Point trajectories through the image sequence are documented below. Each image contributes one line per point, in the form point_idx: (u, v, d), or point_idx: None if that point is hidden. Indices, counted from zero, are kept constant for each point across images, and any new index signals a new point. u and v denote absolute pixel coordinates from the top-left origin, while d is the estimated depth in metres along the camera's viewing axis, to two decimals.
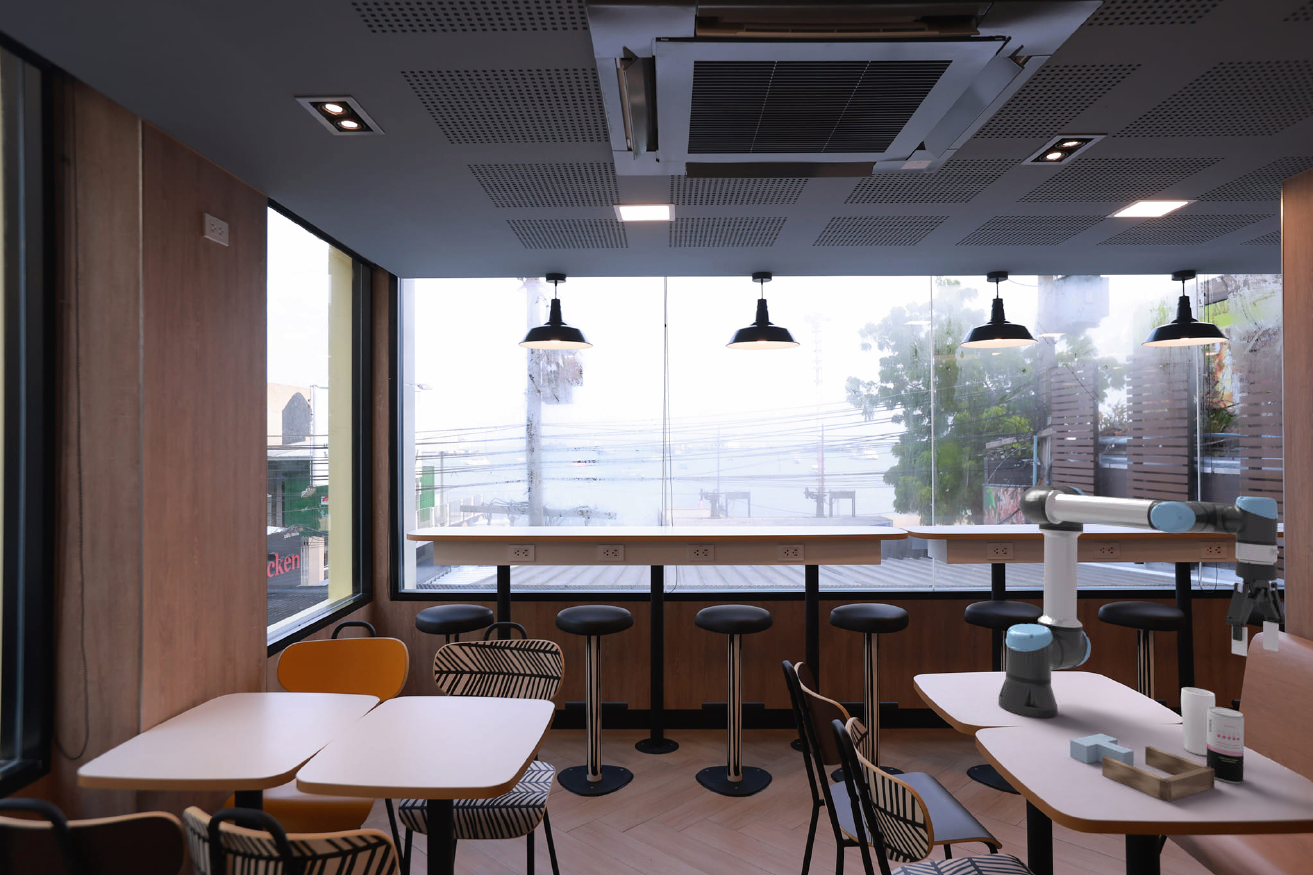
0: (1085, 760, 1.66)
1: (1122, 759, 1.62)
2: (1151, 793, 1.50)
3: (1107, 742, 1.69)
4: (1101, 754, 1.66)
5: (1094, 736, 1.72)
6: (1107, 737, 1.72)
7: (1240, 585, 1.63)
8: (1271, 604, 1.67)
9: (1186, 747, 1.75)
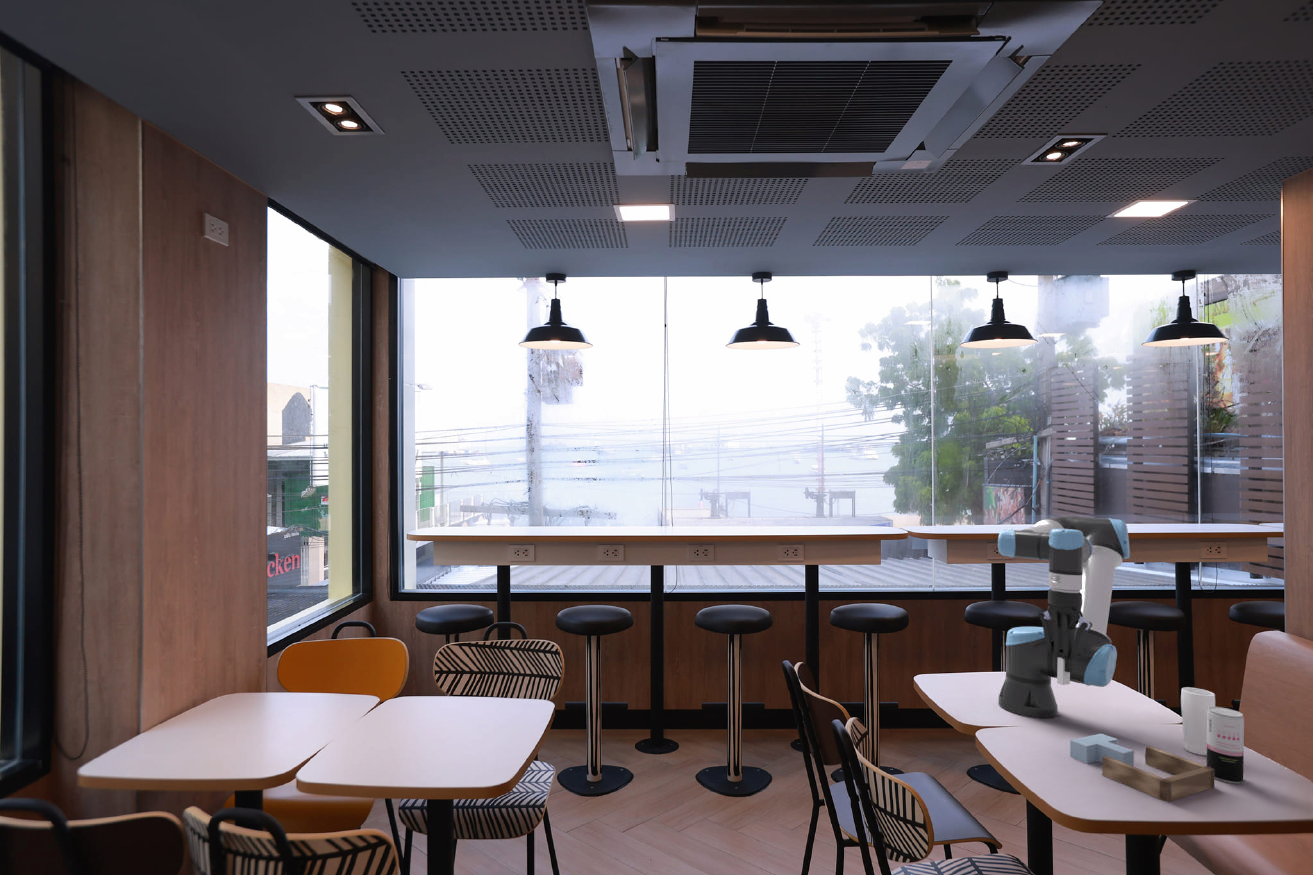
0: (1085, 760, 1.66)
1: (1122, 759, 1.62)
2: (1151, 793, 1.50)
3: (1107, 742, 1.69)
4: (1101, 754, 1.66)
5: (1094, 736, 1.72)
6: (1107, 737, 1.72)
7: None
8: (1066, 635, 1.76)
9: (1186, 747, 1.75)
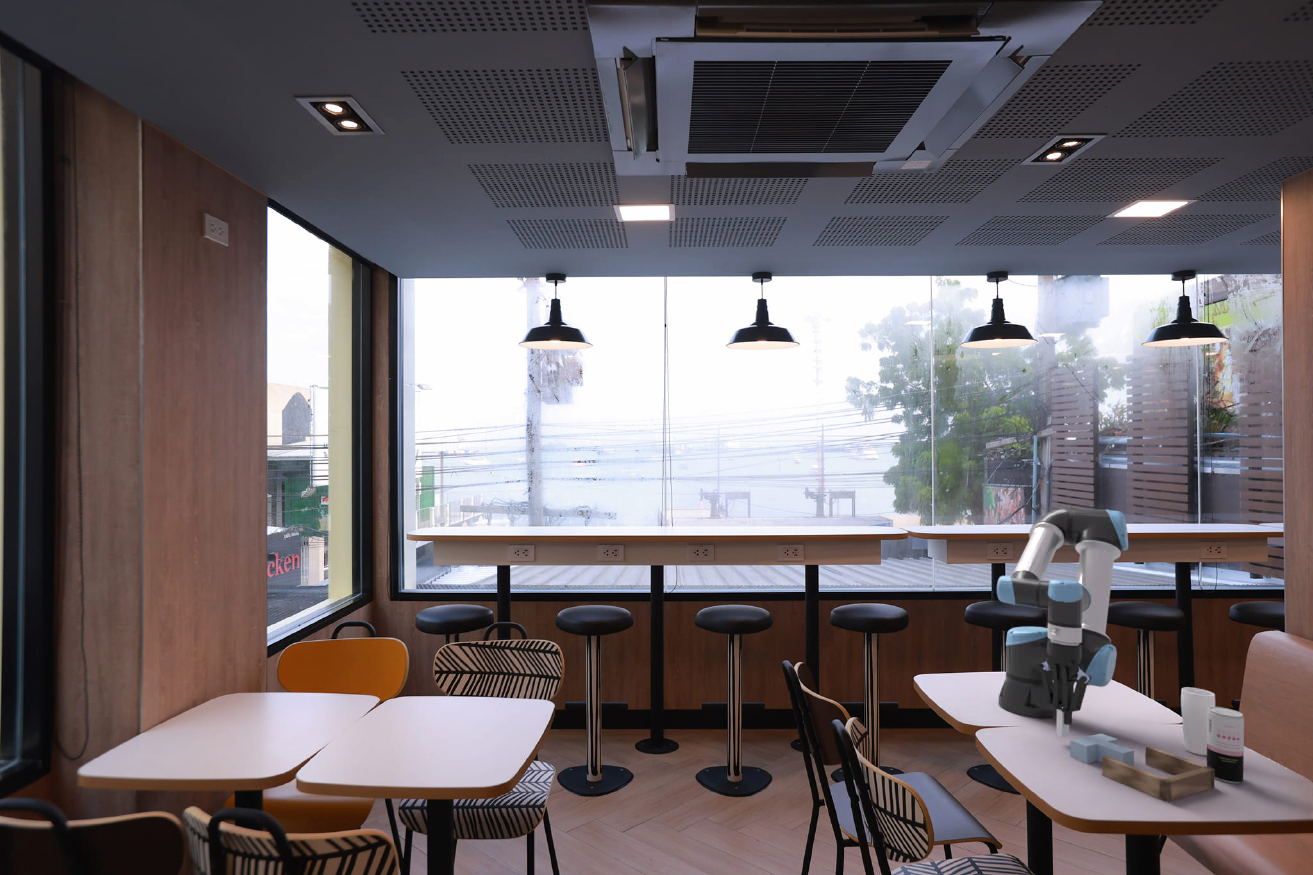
0: (1085, 760, 1.66)
1: (1122, 759, 1.62)
2: (1151, 793, 1.50)
3: (1107, 742, 1.69)
4: (1101, 754, 1.66)
5: (1094, 736, 1.72)
6: (1107, 737, 1.72)
7: None
8: (1065, 687, 1.76)
9: (1186, 747, 1.75)
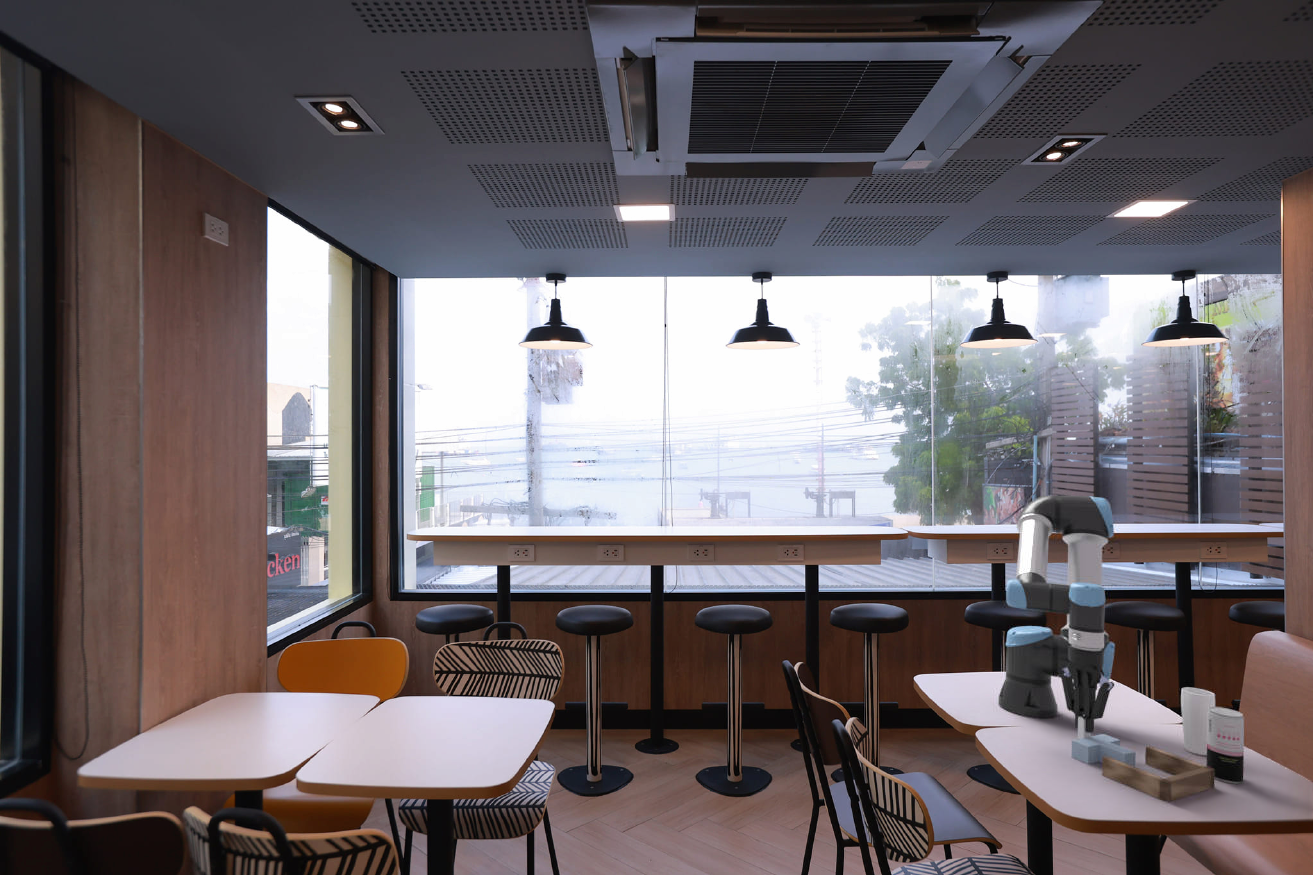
0: (1086, 760, 1.65)
1: (1124, 760, 1.62)
2: (1151, 793, 1.50)
3: (1109, 743, 1.68)
4: (1103, 755, 1.66)
5: (1096, 736, 1.72)
6: (1109, 737, 1.71)
7: None
8: (1086, 694, 1.71)
9: (1186, 747, 1.75)
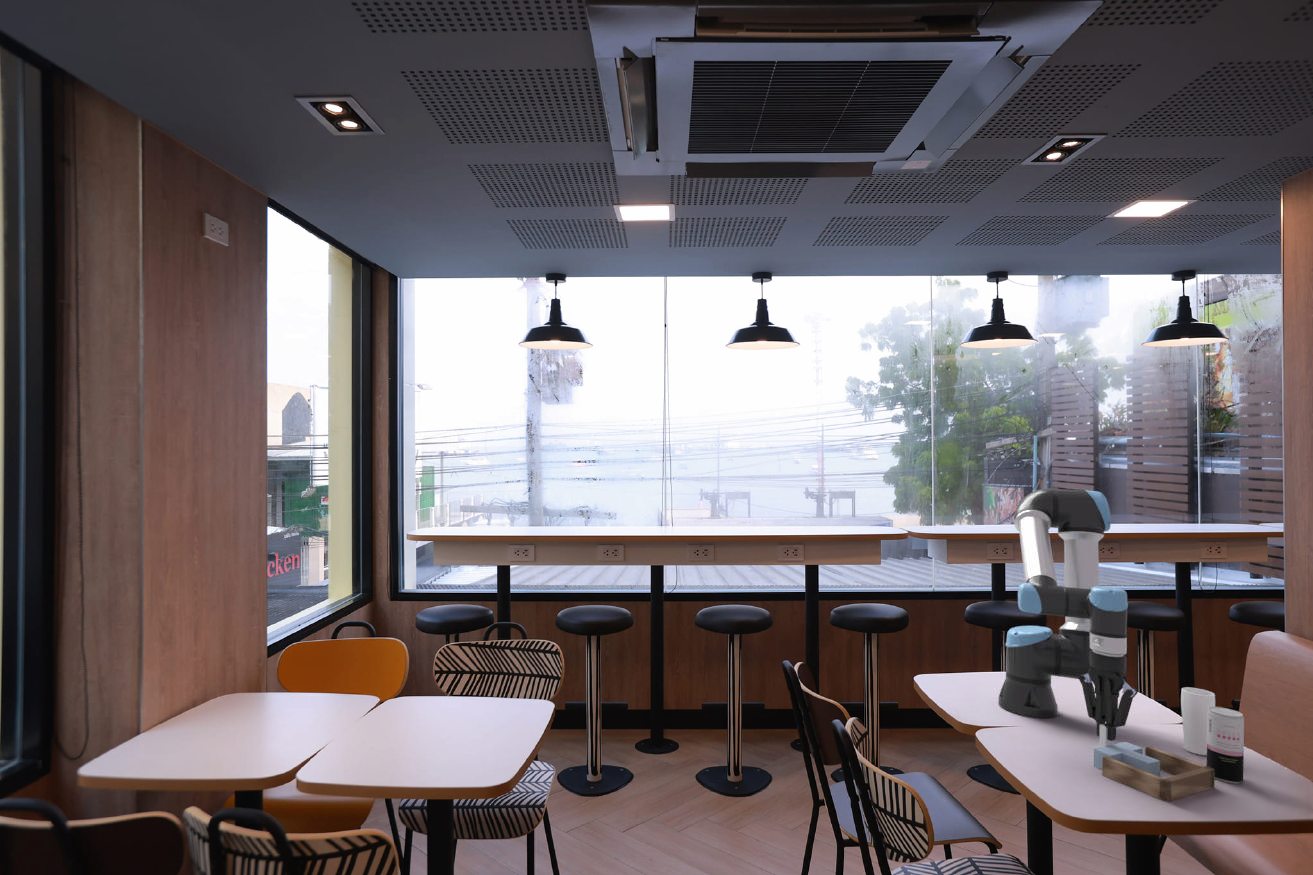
0: None
1: (1148, 769, 1.57)
2: (1151, 793, 1.50)
3: (1132, 751, 1.63)
4: None
5: (1118, 744, 1.67)
6: (1132, 746, 1.67)
7: None
8: (1108, 701, 1.66)
9: (1186, 747, 1.75)
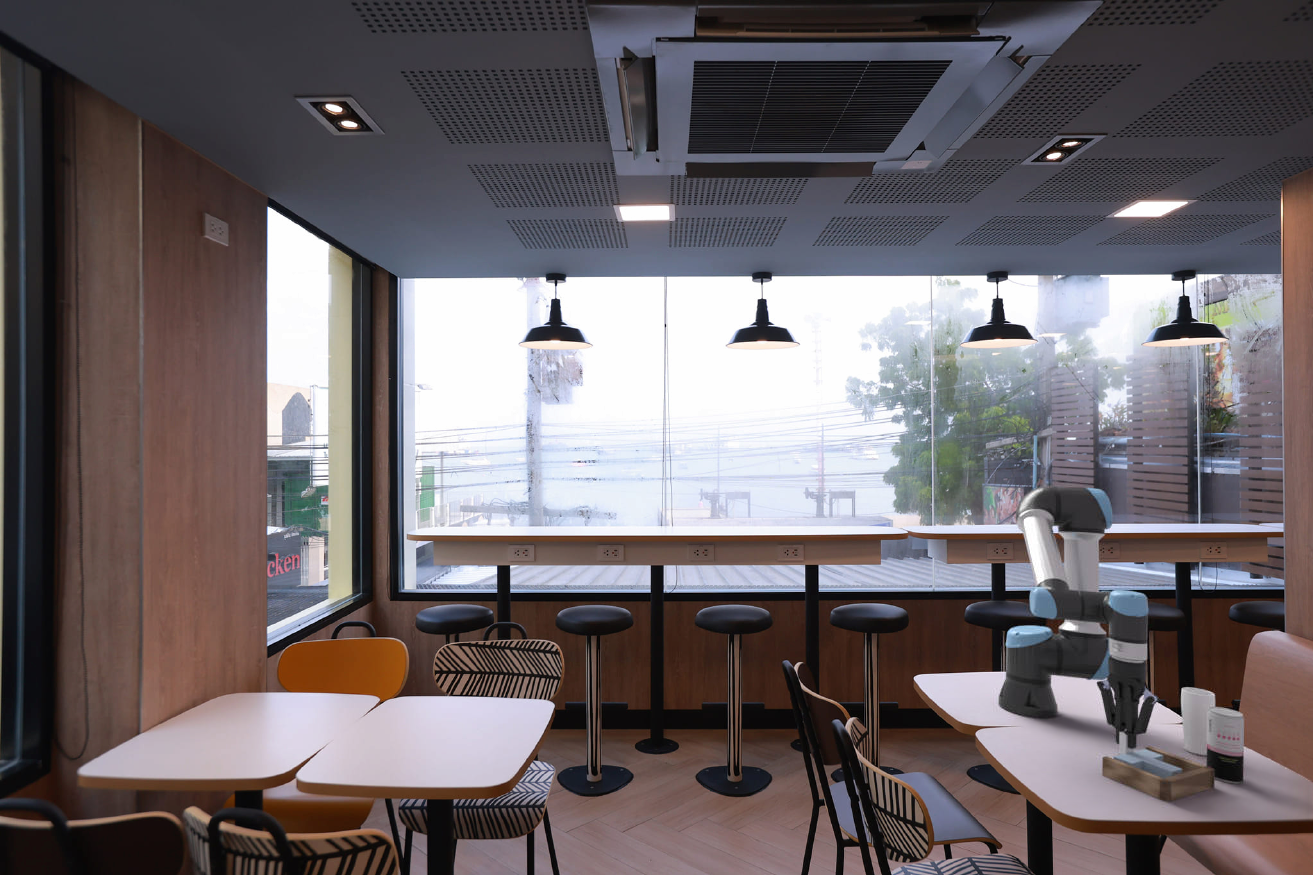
0: None
1: None
2: (1151, 793, 1.50)
3: (1153, 759, 1.59)
4: None
5: (1138, 752, 1.63)
6: (1152, 753, 1.63)
7: None
8: (1129, 708, 1.62)
9: (1186, 747, 1.75)
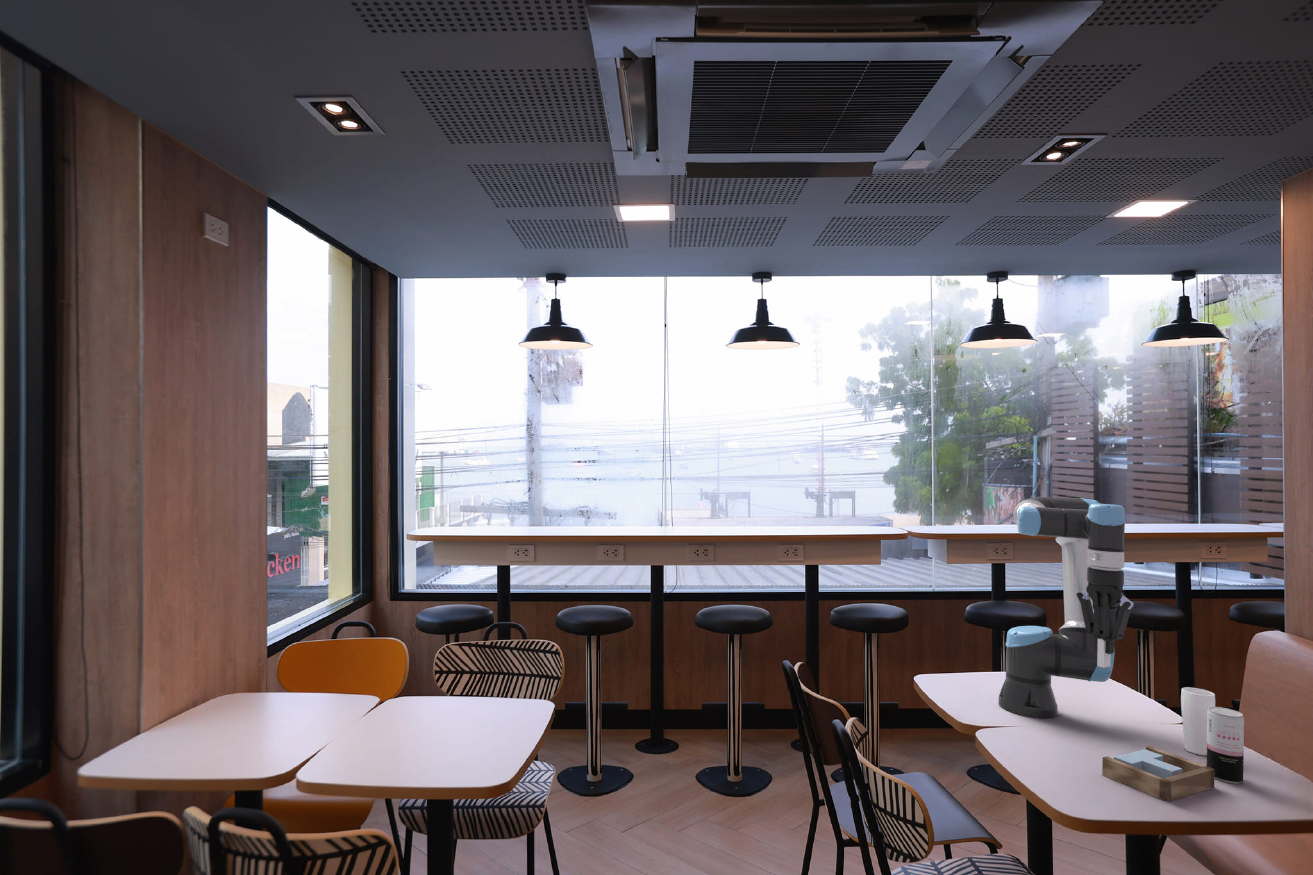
0: None
1: None
2: (1151, 793, 1.50)
3: (1153, 759, 1.59)
4: None
5: (1138, 752, 1.63)
6: (1152, 753, 1.63)
7: None
8: (1106, 615, 1.68)
9: (1186, 747, 1.75)
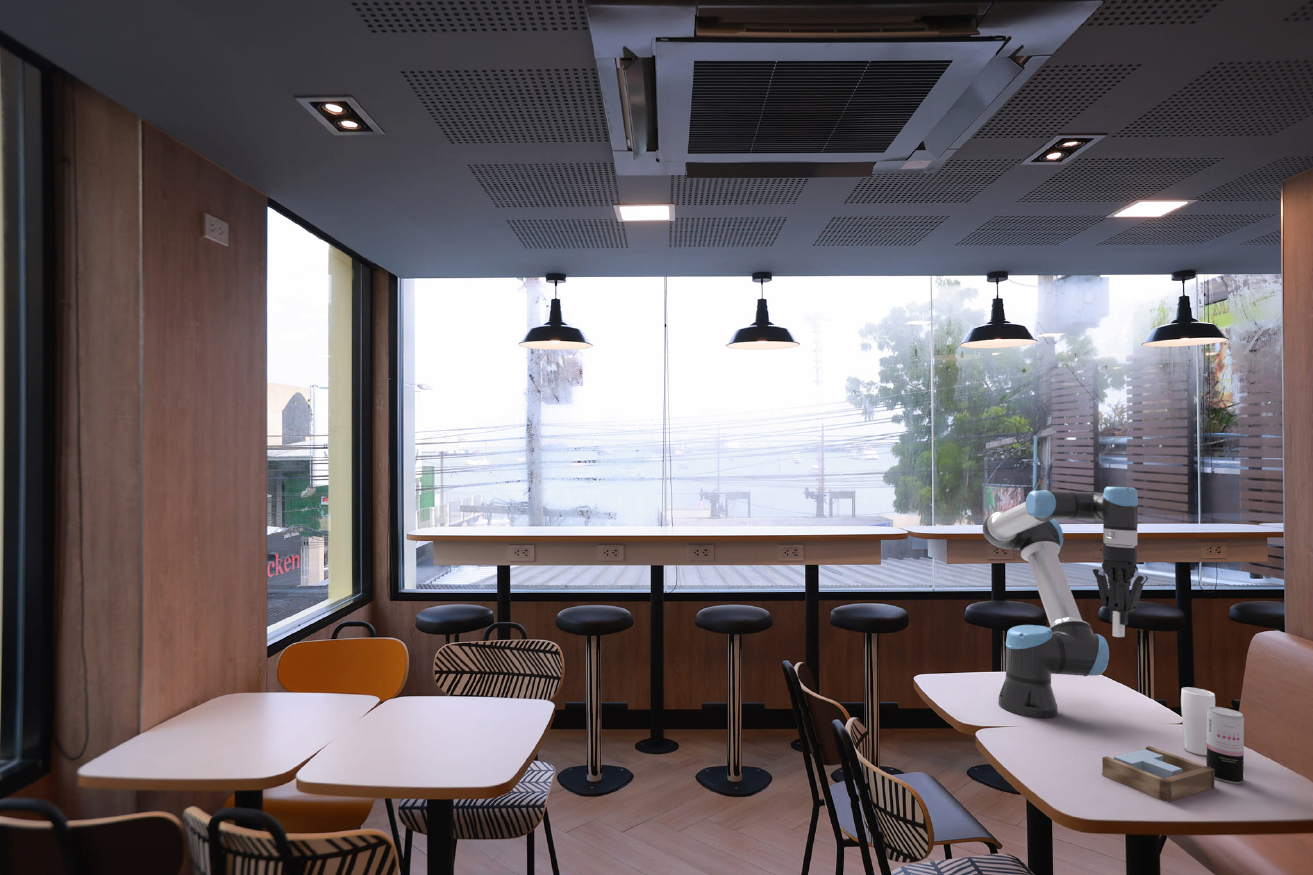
0: None
1: None
2: (1151, 793, 1.50)
3: (1153, 759, 1.59)
4: None
5: (1138, 752, 1.63)
6: (1152, 753, 1.63)
7: None
8: (1121, 589, 1.82)
9: (1186, 747, 1.75)
